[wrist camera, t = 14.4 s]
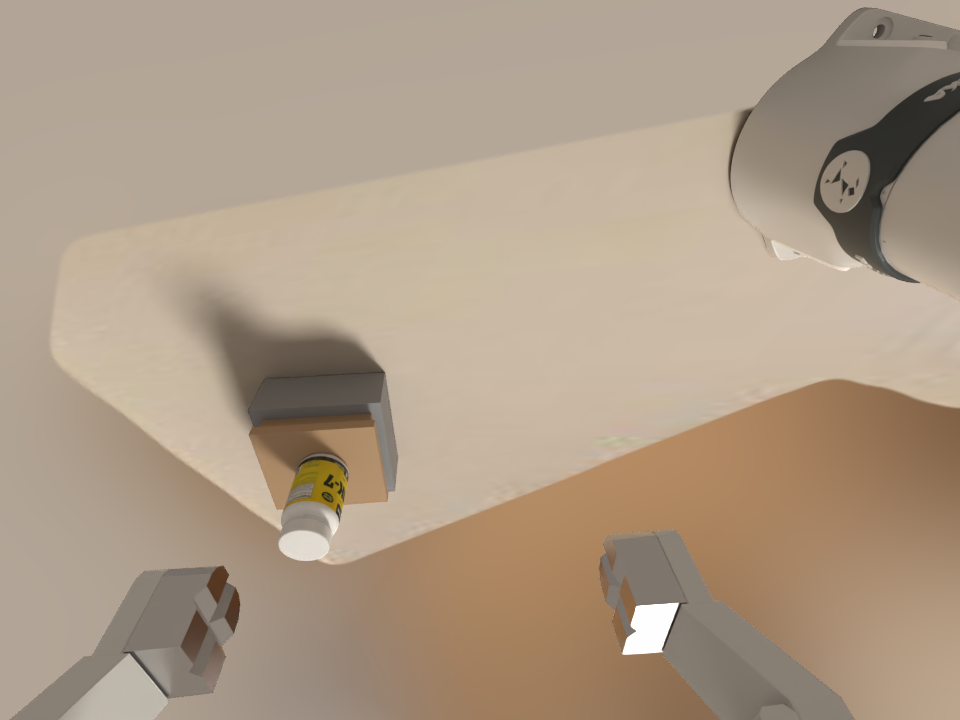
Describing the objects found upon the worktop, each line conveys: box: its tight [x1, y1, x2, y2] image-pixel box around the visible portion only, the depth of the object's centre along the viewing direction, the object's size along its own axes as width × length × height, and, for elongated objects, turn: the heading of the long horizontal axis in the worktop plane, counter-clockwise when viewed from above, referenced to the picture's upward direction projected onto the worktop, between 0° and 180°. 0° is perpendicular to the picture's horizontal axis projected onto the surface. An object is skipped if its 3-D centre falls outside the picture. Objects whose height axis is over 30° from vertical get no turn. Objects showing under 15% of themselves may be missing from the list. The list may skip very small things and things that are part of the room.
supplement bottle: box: [278, 453, 349, 561], centre depth 42 cm, size 5×5×8 cm
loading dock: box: [248, 372, 398, 510], centre depth 48 cm, size 12×12×7 cm
